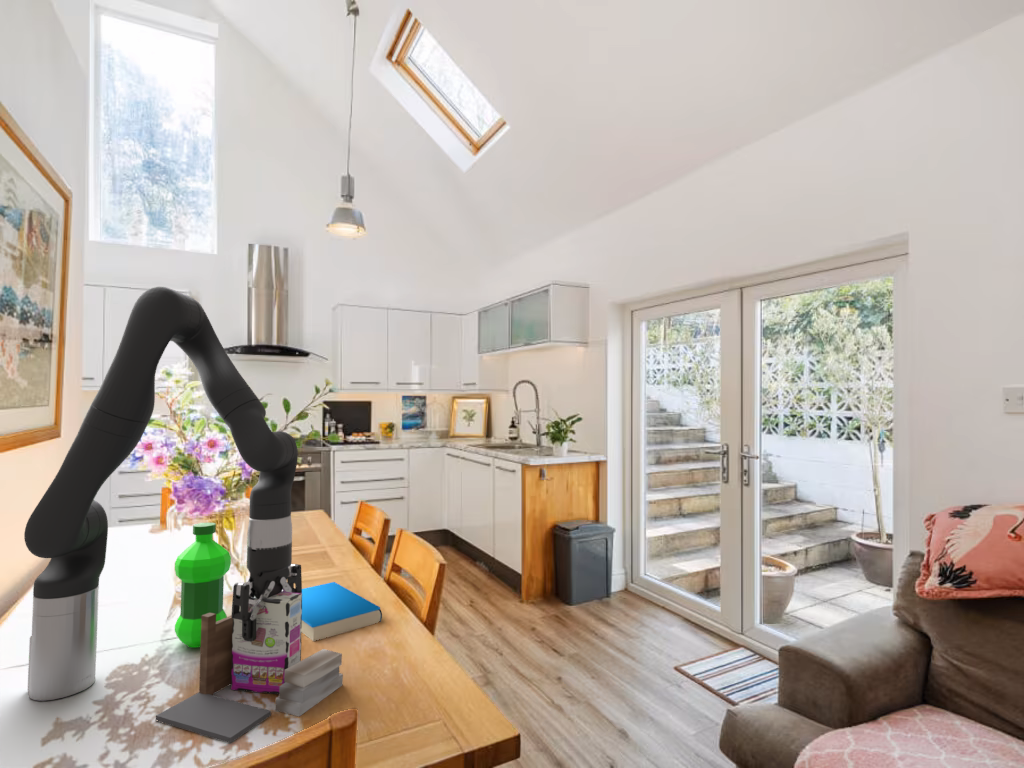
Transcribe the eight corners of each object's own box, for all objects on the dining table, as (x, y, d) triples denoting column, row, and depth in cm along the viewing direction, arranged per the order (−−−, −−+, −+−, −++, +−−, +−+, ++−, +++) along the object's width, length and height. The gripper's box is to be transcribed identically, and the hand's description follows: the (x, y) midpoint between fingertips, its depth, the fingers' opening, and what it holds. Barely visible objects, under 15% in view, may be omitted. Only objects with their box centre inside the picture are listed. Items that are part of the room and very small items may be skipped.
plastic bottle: (238, 638, 120) (241, 522, 121) (190, 657, 111) (194, 532, 112) (210, 629, 125) (213, 517, 126) (162, 646, 116) (166, 526, 117)
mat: (155, 720, 89) (155, 715, 89) (199, 696, 96) (199, 691, 96) (230, 743, 83) (230, 737, 83) (270, 715, 91) (271, 710, 91)
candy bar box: (302, 682, 102) (304, 592, 102) (286, 696, 97) (288, 601, 97) (246, 677, 103) (249, 588, 104) (229, 690, 98) (231, 597, 99)
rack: (199, 697, 96) (201, 615, 97) (264, 661, 110) (266, 589, 110) (205, 699, 95) (208, 617, 96) (270, 662, 109) (272, 591, 110)
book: (312, 625, 119) (270, 594, 137) (312, 646, 119) (269, 612, 137) (383, 606, 131) (335, 579, 149) (382, 624, 130) (335, 595, 149)
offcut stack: (275, 710, 92) (276, 673, 92) (320, 679, 102) (321, 647, 103) (300, 716, 90) (301, 679, 91) (343, 685, 101) (344, 651, 101)
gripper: (282, 531, 109) (281, 614, 108) (221, 548, 96) (219, 643, 95) (313, 534, 106) (312, 619, 106) (254, 552, 93) (253, 650, 92)
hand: (268, 631), depth 100 cm, fingers open, 8 cm apart
